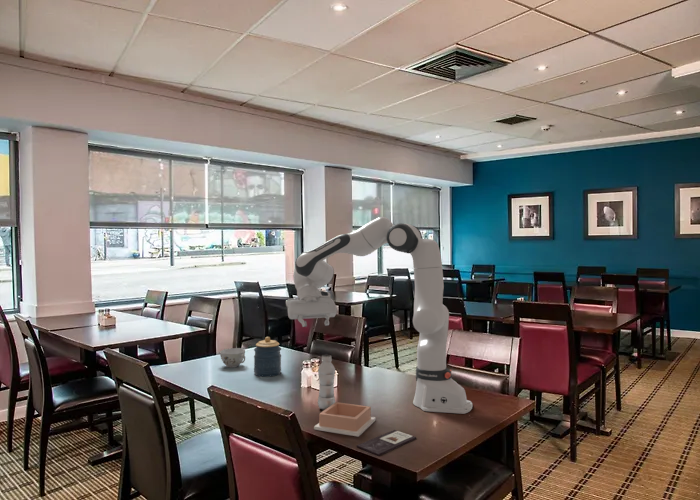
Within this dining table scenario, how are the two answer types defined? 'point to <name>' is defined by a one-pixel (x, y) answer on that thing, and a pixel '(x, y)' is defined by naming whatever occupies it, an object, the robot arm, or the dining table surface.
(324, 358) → the plastic bottle
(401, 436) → the chocolate bar
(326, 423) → the open square box
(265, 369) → the canister
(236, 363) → the teacup
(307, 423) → the dining table surface
